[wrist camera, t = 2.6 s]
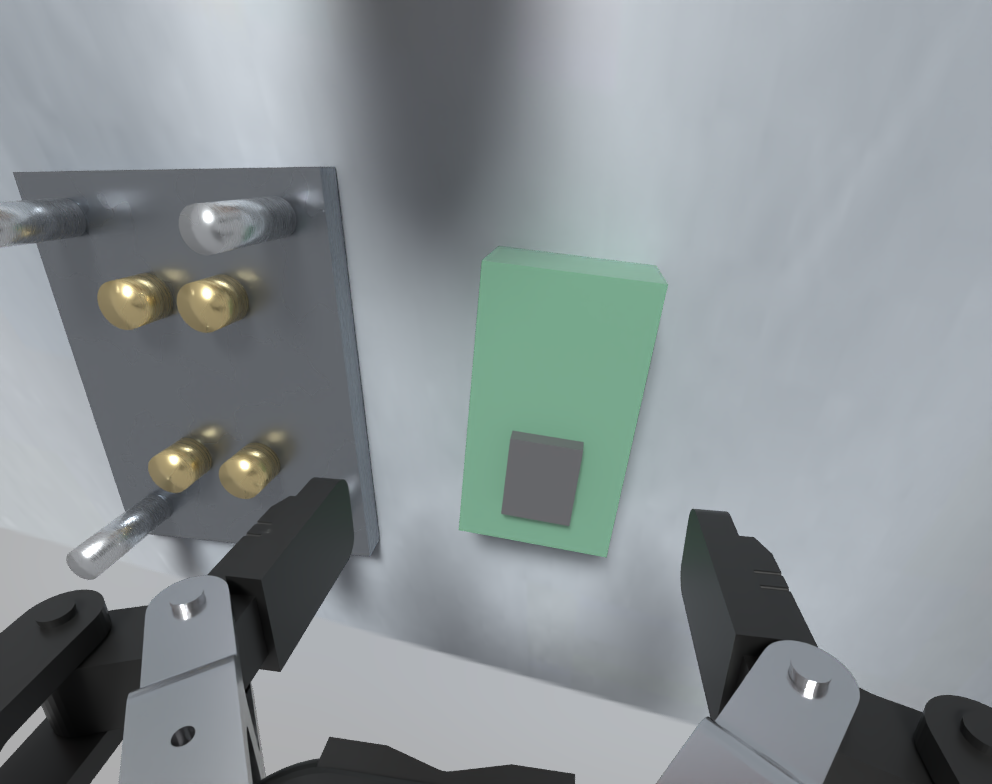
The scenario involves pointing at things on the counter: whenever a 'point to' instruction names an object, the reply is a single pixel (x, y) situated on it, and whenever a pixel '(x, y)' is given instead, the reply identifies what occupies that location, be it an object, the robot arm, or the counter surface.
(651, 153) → the counter surface
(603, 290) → the green block
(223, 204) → the chassis
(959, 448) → the counter surface
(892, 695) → the counter surface
